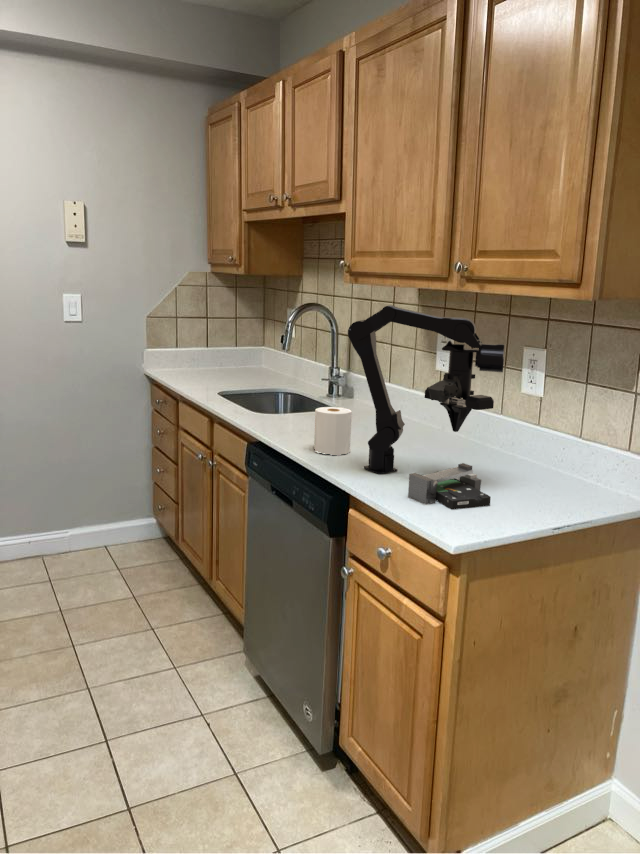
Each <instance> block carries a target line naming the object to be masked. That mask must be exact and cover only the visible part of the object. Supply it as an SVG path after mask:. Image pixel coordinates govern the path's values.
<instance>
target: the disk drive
mask: <svg viewBox="0 0 640 854" xmlns="http://www.w3.org/2000/svg"><path fill="white" fill-rule="evenodd" d="M436 501H437V502H438V503H439V504H441V505H443V506H445V507H446V508H447V509H449V510H451V511H453V510H462V509H472V508H482V507H490V506H491V496H490V495H489V494H487V493H485V492H483V491H481V490H480V491H479V490H477V489H475V488H473V487H471V486H469V485H467V484H465V483H463V482H462V481H460V479H458V478H453V479H450V480H446V481H442V482H438V485H437V489H436Z"/></svg>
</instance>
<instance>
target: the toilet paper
mask: <svg viewBox="0 0 640 854" xmlns="http://www.w3.org/2000/svg"><path fill="white" fill-rule="evenodd" d="M314 412H315V414H314V437H313V438H314V441H313V450H314V449H315V451H318V452H321V453H325V454H332V455H337V456H341V455H340V454H346V455H348V454H350V453H351V440H352V439H351V435H352V417H353V416H352V415H353V411H352V410H351V409H349V408H345V407H341V406H340V407H338V406H324V407H323V406H321V407H317V408H315V410H314ZM315 451H314V452H315ZM349 452H350V453H349ZM347 453H348V454H347ZM332 455H331V456H332Z"/></svg>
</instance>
